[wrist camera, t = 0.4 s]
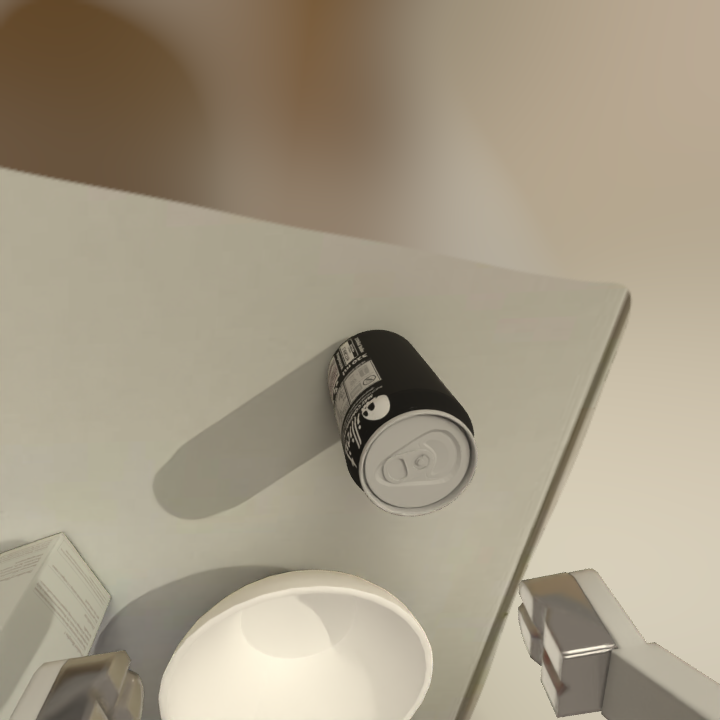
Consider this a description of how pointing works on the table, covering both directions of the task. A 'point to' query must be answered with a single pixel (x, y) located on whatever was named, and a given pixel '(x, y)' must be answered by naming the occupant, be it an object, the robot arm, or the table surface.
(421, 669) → the bowl
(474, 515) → the table surface
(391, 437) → the beverage can
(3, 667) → the white packaging box
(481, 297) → the table surface
